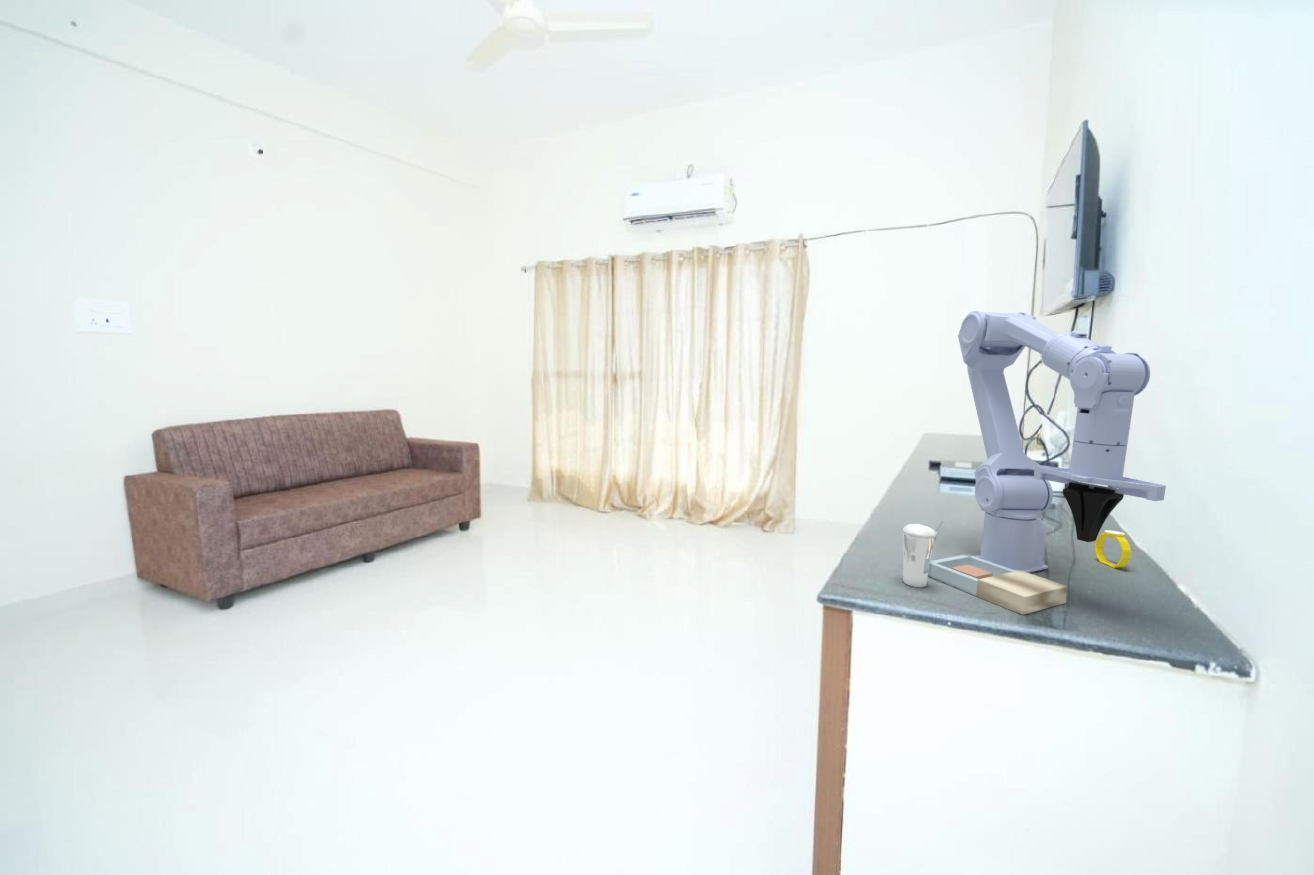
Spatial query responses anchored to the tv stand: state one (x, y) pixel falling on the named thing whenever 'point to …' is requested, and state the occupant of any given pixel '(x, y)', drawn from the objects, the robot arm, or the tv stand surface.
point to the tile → (973, 571)
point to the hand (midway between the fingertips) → (1086, 540)
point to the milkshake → (917, 553)
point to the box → (960, 580)
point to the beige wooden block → (1021, 591)
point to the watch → (1123, 543)
